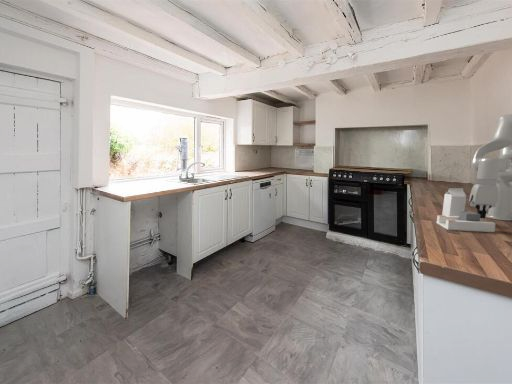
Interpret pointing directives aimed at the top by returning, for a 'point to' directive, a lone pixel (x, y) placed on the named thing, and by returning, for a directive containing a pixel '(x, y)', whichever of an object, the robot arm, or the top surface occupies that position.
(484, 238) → the top surface
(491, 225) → the chute
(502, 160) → the robot arm
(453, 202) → the milk carton
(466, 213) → the block
